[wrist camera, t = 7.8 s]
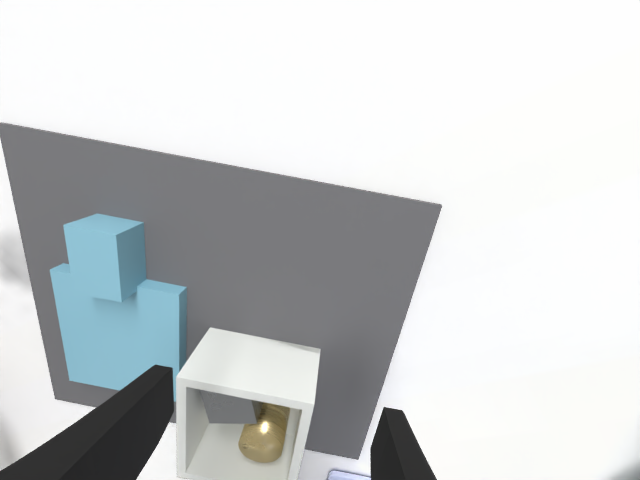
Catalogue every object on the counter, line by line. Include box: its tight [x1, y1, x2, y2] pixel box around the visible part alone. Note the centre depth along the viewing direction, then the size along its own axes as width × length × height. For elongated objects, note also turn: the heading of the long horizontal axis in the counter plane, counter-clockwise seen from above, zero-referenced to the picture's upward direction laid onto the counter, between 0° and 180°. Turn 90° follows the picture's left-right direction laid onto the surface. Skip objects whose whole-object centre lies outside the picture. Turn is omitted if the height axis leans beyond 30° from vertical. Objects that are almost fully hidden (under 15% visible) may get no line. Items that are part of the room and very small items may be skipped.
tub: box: [176, 327, 321, 480], centre depth 20 cm, size 9×8×4 cm
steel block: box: [199, 389, 263, 424], centre depth 20 cm, size 3×3×3 cm
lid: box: [50, 214, 187, 402], centre depth 20 cm, size 14×9×2 cm, turn 170°
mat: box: [0, 123, 442, 460], centre depth 21 cm, size 22×26×1 cm
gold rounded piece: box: [238, 402, 290, 463], centre depth 21 cm, size 3×3×3 cm
